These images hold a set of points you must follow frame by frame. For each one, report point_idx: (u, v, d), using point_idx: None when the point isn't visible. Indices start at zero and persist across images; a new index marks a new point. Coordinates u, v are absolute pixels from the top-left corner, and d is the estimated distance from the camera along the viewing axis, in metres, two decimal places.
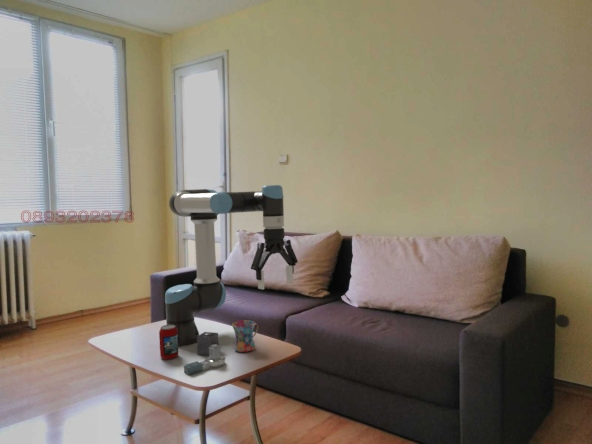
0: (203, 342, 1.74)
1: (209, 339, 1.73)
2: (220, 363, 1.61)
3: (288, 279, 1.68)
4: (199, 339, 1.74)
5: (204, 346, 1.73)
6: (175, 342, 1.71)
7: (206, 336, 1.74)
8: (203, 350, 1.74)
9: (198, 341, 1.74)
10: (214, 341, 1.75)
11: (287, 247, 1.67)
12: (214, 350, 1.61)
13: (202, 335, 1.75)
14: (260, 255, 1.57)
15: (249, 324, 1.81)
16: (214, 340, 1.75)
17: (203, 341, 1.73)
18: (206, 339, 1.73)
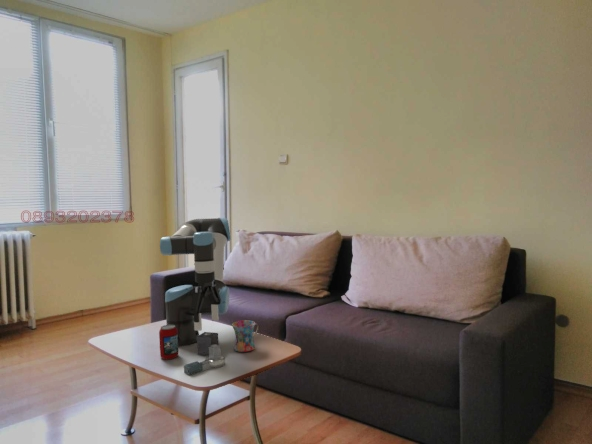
0: (203, 342, 1.74)
1: (209, 339, 1.73)
2: (220, 363, 1.61)
3: None
4: (199, 339, 1.74)
5: (204, 346, 1.73)
6: (175, 342, 1.71)
7: (206, 336, 1.74)
8: (203, 350, 1.74)
9: (198, 341, 1.74)
10: (214, 341, 1.75)
11: None
12: (214, 350, 1.61)
13: (202, 335, 1.75)
14: None
15: (249, 324, 1.81)
16: (214, 340, 1.75)
17: (203, 341, 1.73)
18: (206, 339, 1.73)
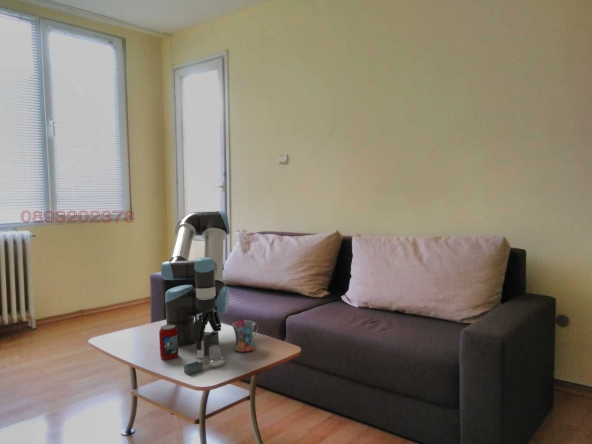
0: None
1: (209, 339, 1.73)
2: (220, 363, 1.61)
3: None
4: None
5: (204, 346, 1.73)
6: (175, 342, 1.71)
7: (206, 336, 1.74)
8: None
9: None
10: (214, 341, 1.75)
11: None
12: (214, 350, 1.61)
13: None
14: None
15: (249, 324, 1.81)
16: (214, 340, 1.75)
17: None
18: (206, 339, 1.73)
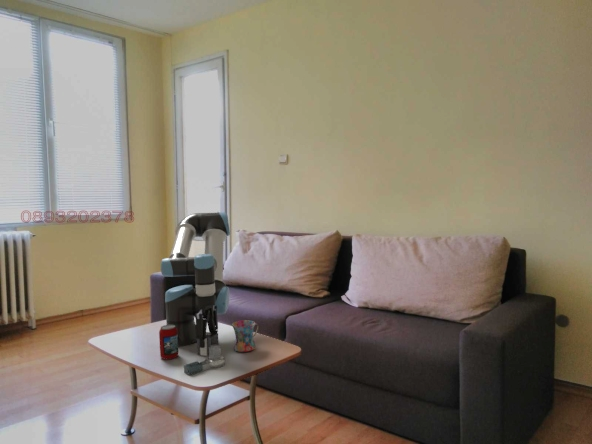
0: None
1: (209, 339, 1.73)
2: (220, 363, 1.61)
3: None
4: None
5: None
6: (175, 342, 1.71)
7: (206, 336, 1.74)
8: None
9: (198, 341, 1.74)
10: (214, 341, 1.75)
11: None
12: (214, 350, 1.61)
13: None
14: None
15: (249, 324, 1.81)
16: (214, 340, 1.75)
17: None
18: None
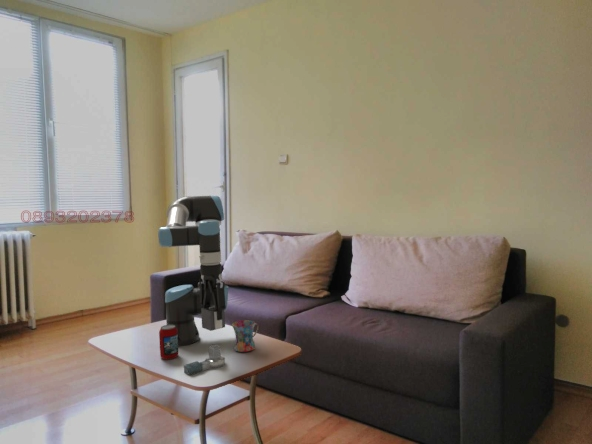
0: None
1: None
2: (220, 363, 1.61)
3: None
4: (212, 313, 1.59)
5: None
6: (175, 342, 1.71)
7: None
8: None
9: (211, 315, 1.58)
10: None
11: None
12: (214, 350, 1.61)
13: (210, 309, 1.60)
14: (200, 291, 1.65)
15: (249, 324, 1.81)
16: None
17: None
18: None
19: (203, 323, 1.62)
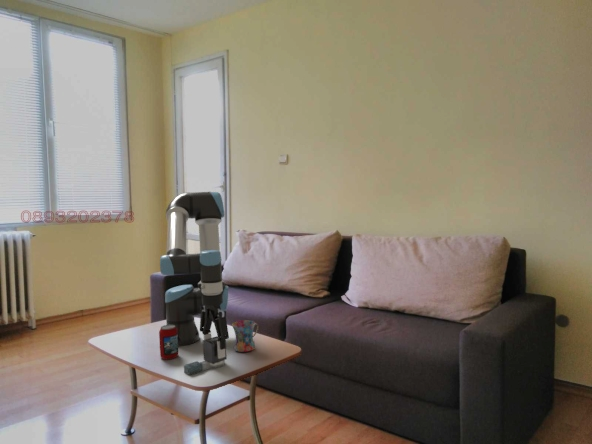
0: None
1: None
2: (220, 363, 1.61)
3: None
4: (214, 346, 1.60)
5: None
6: (175, 342, 1.71)
7: None
8: None
9: (212, 348, 1.59)
10: None
11: None
12: None
13: (212, 341, 1.61)
14: (201, 318, 1.67)
15: (249, 324, 1.81)
16: None
17: None
18: None
19: (205, 355, 1.63)
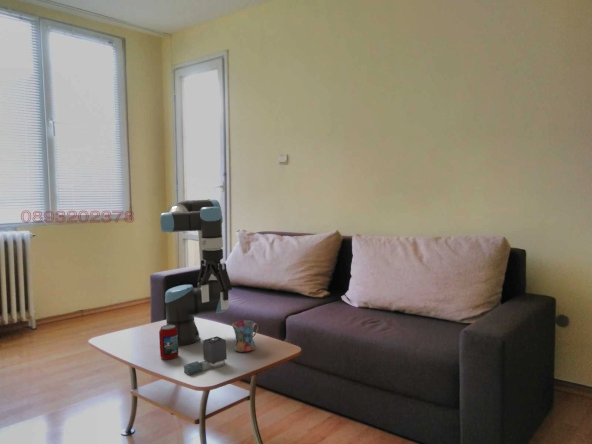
0: (218, 347, 1.61)
1: (224, 342, 1.62)
2: (220, 363, 1.61)
3: None
4: (214, 346, 1.60)
5: (219, 351, 1.61)
6: (175, 342, 1.71)
7: (219, 340, 1.62)
8: (218, 356, 1.61)
9: (212, 348, 1.59)
10: None
11: None
12: None
13: (212, 341, 1.61)
14: (200, 271, 1.71)
15: (249, 324, 1.81)
16: None
17: (218, 346, 1.61)
18: (221, 343, 1.62)
19: (205, 355, 1.63)
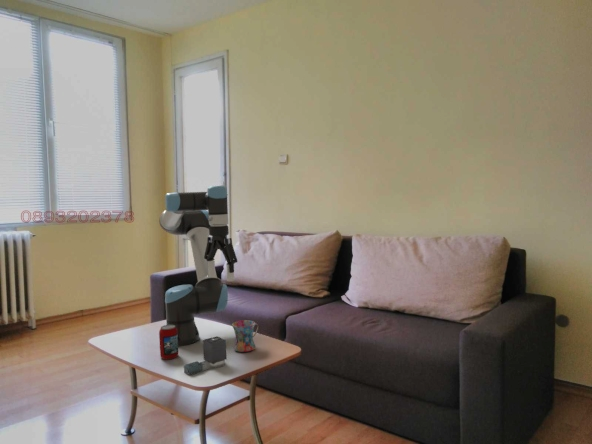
0: (218, 347, 1.61)
1: (224, 342, 1.62)
2: (220, 363, 1.61)
3: None
4: (214, 346, 1.60)
5: (219, 351, 1.61)
6: (175, 342, 1.71)
7: (219, 340, 1.62)
8: (218, 356, 1.61)
9: (212, 348, 1.59)
10: None
11: None
12: None
13: (212, 341, 1.61)
14: (207, 247, 1.81)
15: (249, 324, 1.81)
16: None
17: (218, 346, 1.61)
18: (221, 343, 1.62)
19: (205, 355, 1.63)
